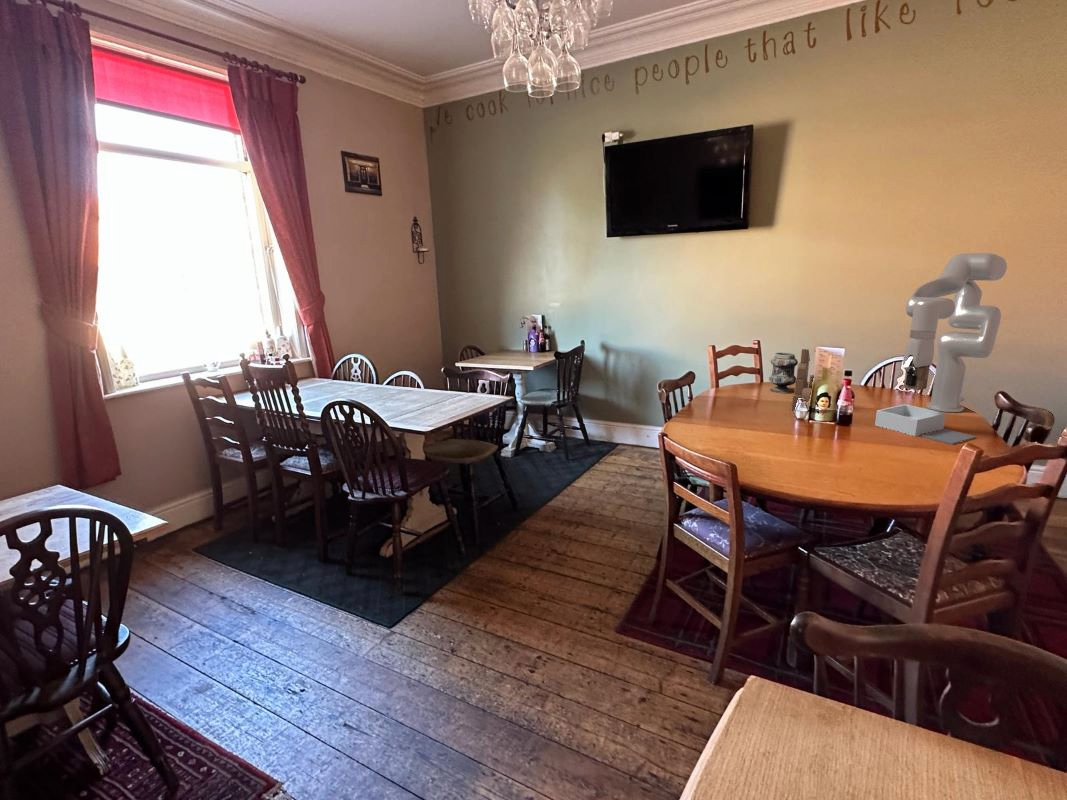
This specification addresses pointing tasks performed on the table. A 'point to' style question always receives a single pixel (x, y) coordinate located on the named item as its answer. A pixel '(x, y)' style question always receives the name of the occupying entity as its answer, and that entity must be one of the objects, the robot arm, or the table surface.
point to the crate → (910, 419)
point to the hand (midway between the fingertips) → (915, 384)
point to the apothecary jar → (783, 372)
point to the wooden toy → (802, 379)
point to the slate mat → (948, 436)
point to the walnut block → (919, 378)
